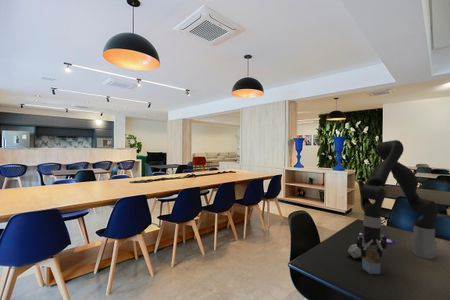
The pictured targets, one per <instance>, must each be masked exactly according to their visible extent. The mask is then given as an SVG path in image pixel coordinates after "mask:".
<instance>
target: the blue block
mask: <svg viewBox="0 0 450 300" xmlns="http://www.w3.org/2000/svg"><path fill="white" fill-rule="evenodd" d="M361 259H362V262H361V264H362V265H361V266H362V267H361V268H362V269H363V271H365V272H367V273H368V274H370V275H371V274H373V275H374V274H375V275H377V274H378V275H379V274H381V263H380V262H379V263H369V262H368V261H366V260H365V259H364V257H361Z"/></svg>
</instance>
